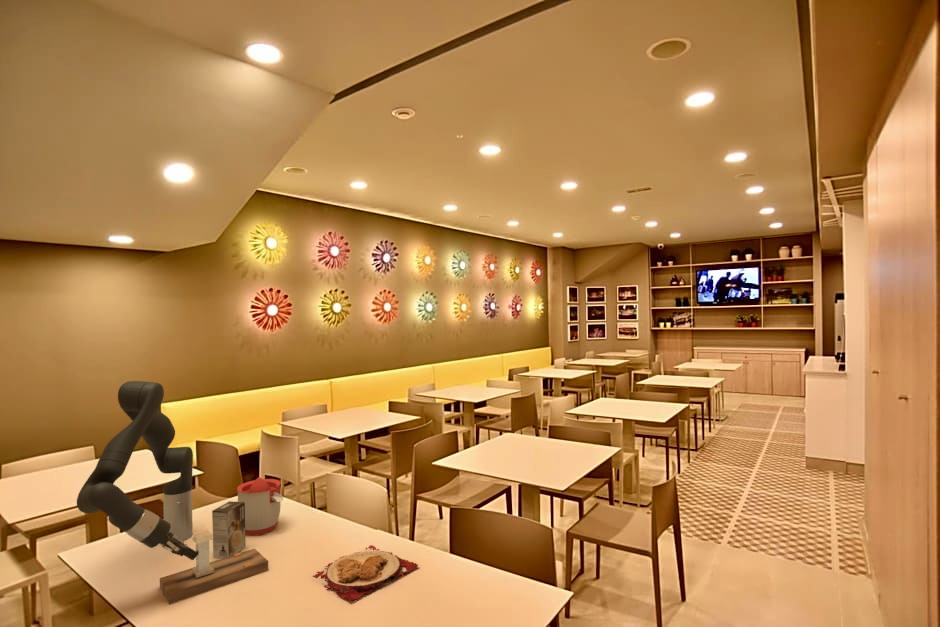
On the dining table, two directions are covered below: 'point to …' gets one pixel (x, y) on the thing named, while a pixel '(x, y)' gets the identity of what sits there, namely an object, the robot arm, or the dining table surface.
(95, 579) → the dining table surface
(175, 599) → the brown wooden slider base
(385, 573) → the plate with food
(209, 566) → the slider tab
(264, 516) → the citrus juicer
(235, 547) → the coffee box
